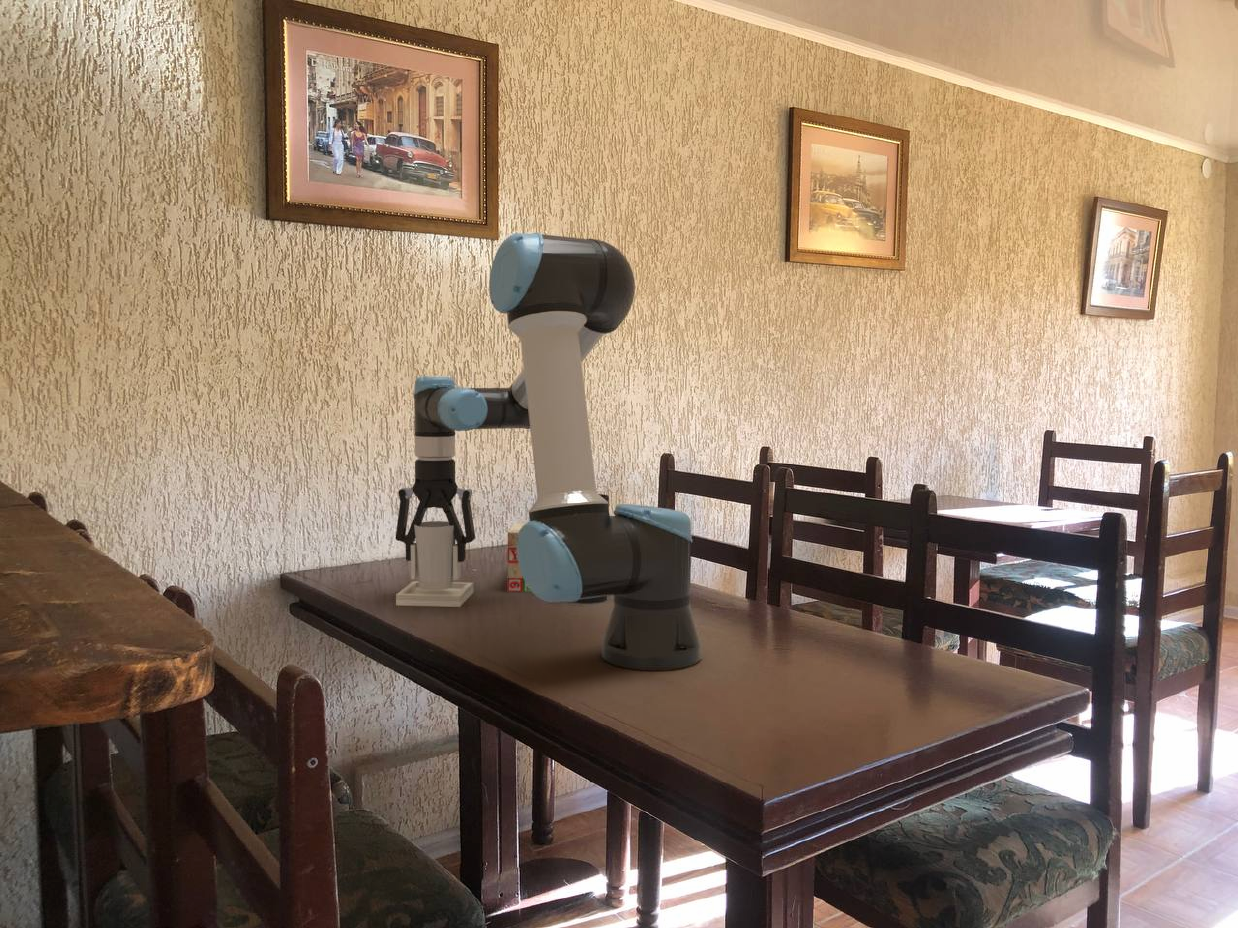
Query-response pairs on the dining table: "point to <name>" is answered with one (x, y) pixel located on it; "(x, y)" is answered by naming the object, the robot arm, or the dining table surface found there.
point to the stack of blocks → (515, 562)
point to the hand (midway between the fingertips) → (435, 577)
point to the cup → (435, 554)
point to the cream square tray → (434, 595)
